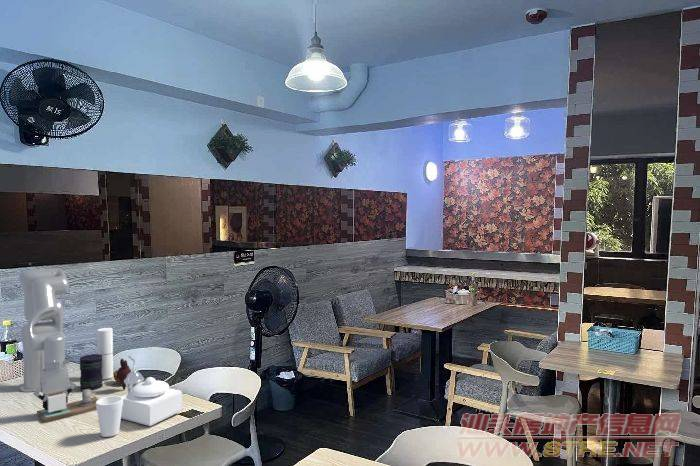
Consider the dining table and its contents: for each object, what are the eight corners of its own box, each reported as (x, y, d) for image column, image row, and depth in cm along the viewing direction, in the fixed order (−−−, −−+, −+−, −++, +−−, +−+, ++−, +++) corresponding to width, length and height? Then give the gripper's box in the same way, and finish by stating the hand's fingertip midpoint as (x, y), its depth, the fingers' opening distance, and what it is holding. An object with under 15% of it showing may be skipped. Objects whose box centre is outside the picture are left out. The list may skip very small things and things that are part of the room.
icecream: (134, 390, 234) (134, 359, 233) (118, 394, 229) (118, 362, 228) (129, 386, 239) (128, 356, 238) (113, 390, 234) (113, 359, 233)
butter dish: (182, 410, 211) (182, 374, 210) (149, 426, 195) (148, 387, 194) (152, 403, 219) (152, 368, 218) (118, 418, 202) (118, 380, 202)
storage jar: (107, 386, 239) (106, 356, 238) (87, 392, 231) (86, 361, 230) (95, 382, 244) (95, 353, 244) (75, 388, 236) (75, 357, 235)
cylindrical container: (106, 379, 248) (106, 331, 247) (94, 378, 249) (94, 330, 248) (116, 375, 255) (115, 328, 254) (104, 374, 256) (103, 327, 255)
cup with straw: (123, 406, 214) (122, 361, 213) (124, 399, 222) (124, 356, 222) (144, 404, 217) (143, 359, 216) (144, 396, 226) (144, 354, 225)
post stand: (36, 414, 205) (36, 397, 205) (95, 400, 221) (95, 383, 221) (44, 423, 196) (43, 405, 196) (104, 407, 213) (104, 390, 212)
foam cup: (102, 428, 193) (102, 395, 192) (126, 427, 193) (126, 395, 193) (92, 439, 183) (91, 405, 183) (117, 438, 184) (117, 404, 184)
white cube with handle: (61, 403, 209) (61, 388, 209) (66, 408, 204) (65, 392, 204) (44, 408, 204) (44, 392, 204) (48, 412, 200) (48, 396, 200)
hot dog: (122, 378, 251) (122, 368, 251) (131, 385, 241) (131, 375, 241) (112, 380, 248) (111, 370, 247) (120, 387, 238) (120, 377, 238)
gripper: (74, 359, 212) (75, 399, 213) (28, 367, 200) (29, 410, 201) (80, 362, 207) (80, 404, 208) (32, 371, 195) (33, 415, 196)
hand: (55, 406), depth 204 cm, fingers closed on white cube with handle, 6 cm apart
